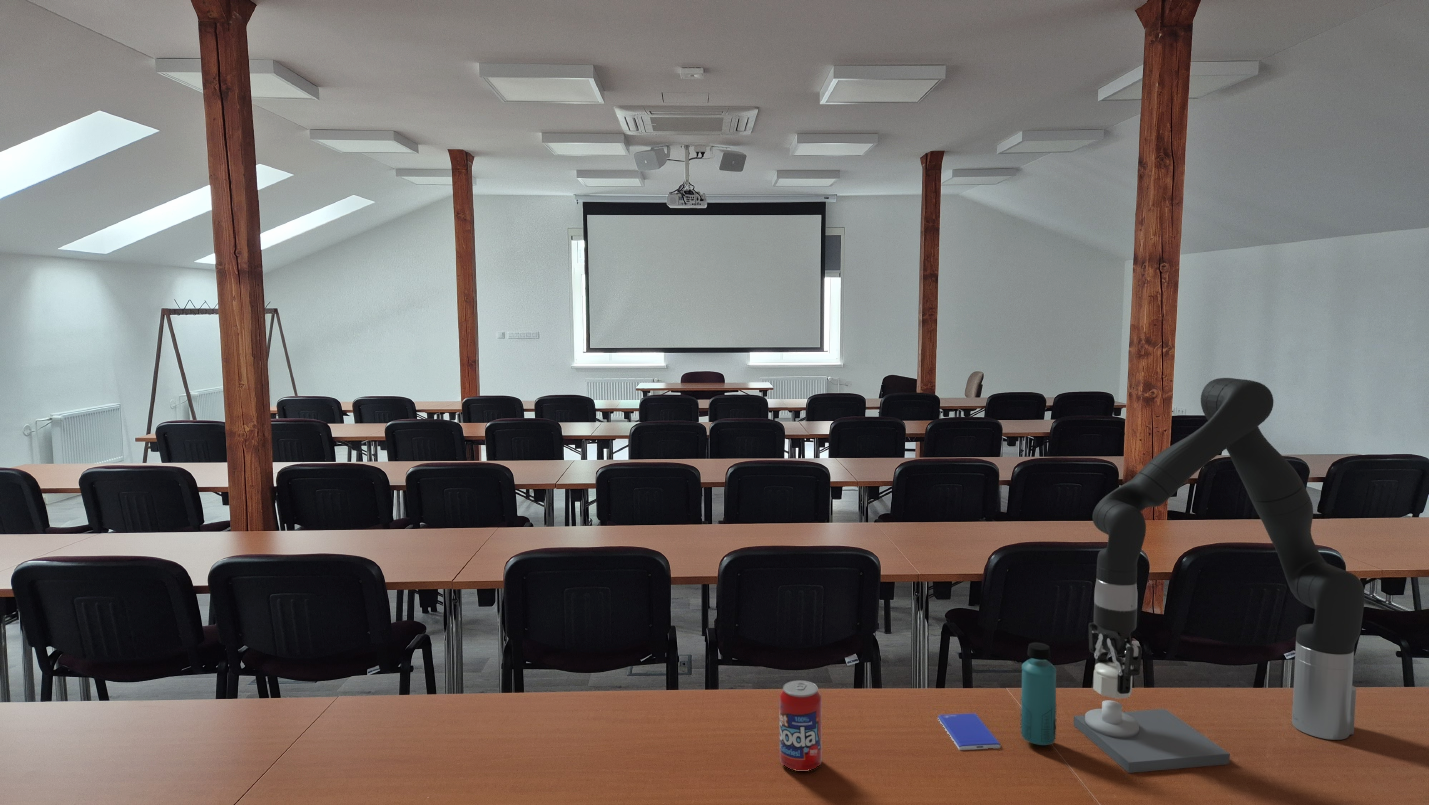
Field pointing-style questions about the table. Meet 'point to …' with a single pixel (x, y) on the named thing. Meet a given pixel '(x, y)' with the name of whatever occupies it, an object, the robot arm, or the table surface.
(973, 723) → the hard drive
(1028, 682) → the beverage bottle
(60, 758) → the table surface
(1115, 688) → the cap
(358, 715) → the table surface
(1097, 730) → the threaded post stand
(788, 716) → the soda can
